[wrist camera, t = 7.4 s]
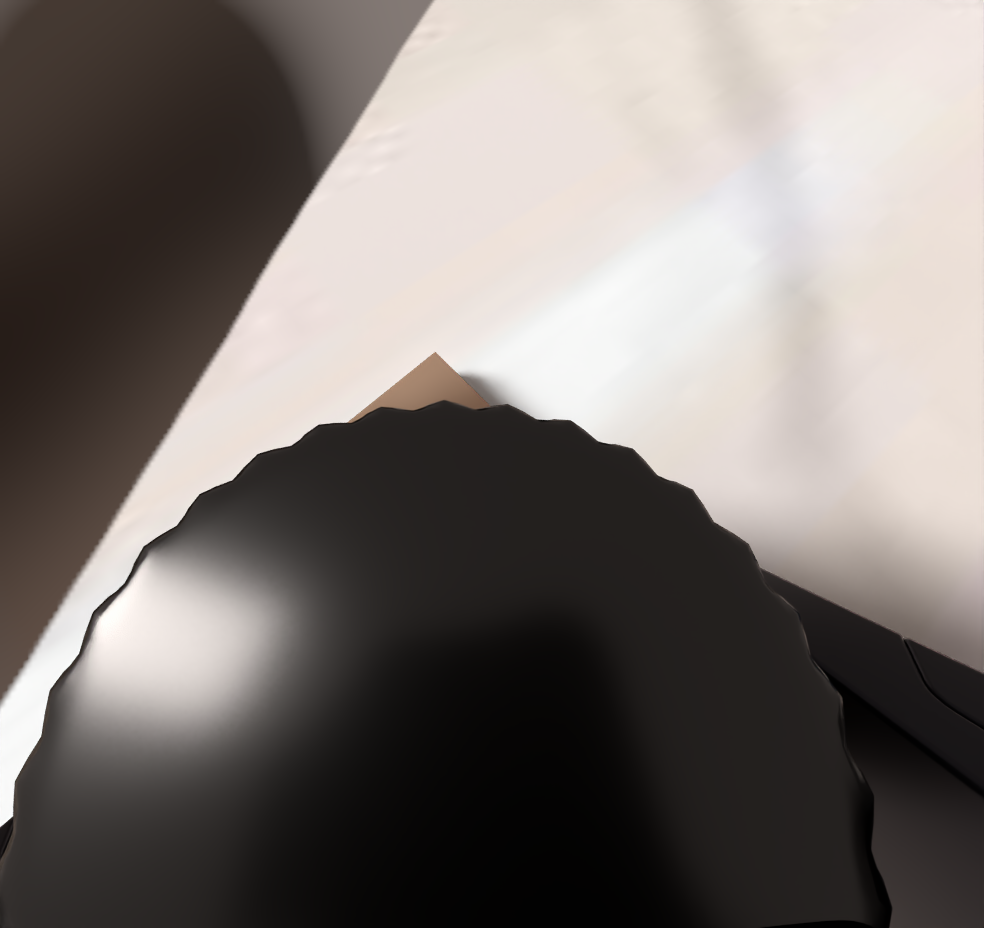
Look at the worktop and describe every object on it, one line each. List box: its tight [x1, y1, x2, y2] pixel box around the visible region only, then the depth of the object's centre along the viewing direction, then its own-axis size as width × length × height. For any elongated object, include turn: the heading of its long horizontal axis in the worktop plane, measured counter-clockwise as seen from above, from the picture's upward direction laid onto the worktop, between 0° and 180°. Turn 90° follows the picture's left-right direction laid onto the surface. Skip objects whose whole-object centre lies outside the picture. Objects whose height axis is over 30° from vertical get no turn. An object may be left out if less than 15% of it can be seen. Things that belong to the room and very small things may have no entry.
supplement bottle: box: [0, 400, 893, 928], centre depth 8 cm, size 7×7×12 cm
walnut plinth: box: [347, 352, 490, 423], centre depth 16 cm, size 20×11×2 cm, turn 43°
